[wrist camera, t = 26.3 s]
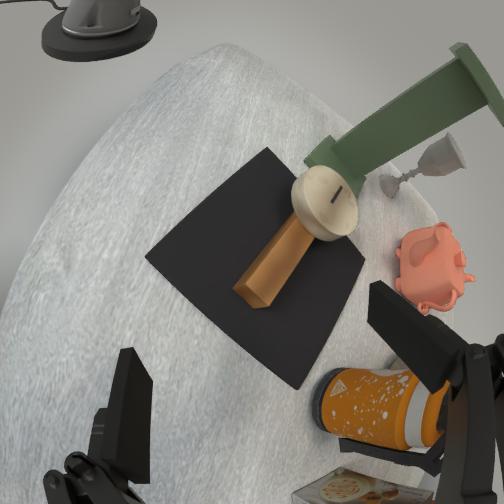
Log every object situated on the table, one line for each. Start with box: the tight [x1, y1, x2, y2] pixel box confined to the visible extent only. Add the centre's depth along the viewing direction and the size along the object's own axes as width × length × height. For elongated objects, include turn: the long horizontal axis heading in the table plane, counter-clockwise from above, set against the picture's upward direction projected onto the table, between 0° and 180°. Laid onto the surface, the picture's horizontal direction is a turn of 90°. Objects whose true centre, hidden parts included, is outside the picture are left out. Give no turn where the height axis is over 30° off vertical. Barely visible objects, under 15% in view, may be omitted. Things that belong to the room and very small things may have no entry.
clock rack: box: [304, 42, 504, 199], centre depth 30 cm, size 10×9×30 cm
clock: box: [233, 165, 359, 309], centre depth 31 cm, size 9×19×6 cm, turn 142°
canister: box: [312, 368, 450, 477], centre depth 22 cm, size 9×11×20 cm
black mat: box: [145, 147, 365, 390], centre depth 32 cm, size 22×22×1 cm
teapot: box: [395, 222, 475, 314], centre depth 41 cm, size 15×17×13 cm
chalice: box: [380, 132, 466, 198], centre depth 43 cm, size 7×7×18 cm
